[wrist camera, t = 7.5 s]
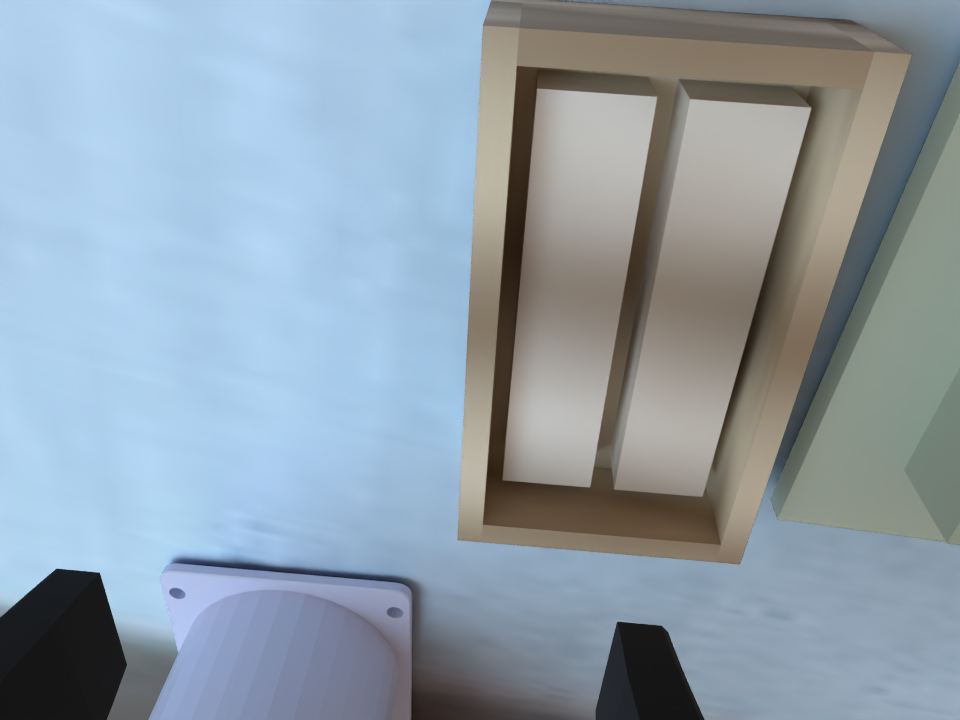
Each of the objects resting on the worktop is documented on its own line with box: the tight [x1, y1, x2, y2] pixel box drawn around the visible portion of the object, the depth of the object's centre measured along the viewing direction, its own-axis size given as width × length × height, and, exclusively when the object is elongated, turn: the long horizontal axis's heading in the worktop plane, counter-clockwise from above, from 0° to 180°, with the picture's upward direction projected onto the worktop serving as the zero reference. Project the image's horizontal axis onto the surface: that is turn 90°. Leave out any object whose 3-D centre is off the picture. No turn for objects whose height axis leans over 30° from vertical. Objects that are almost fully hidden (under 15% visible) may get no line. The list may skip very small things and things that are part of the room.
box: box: [458, 0, 912, 564], centre depth 17 cm, size 12×7×3 cm, turn 177°
